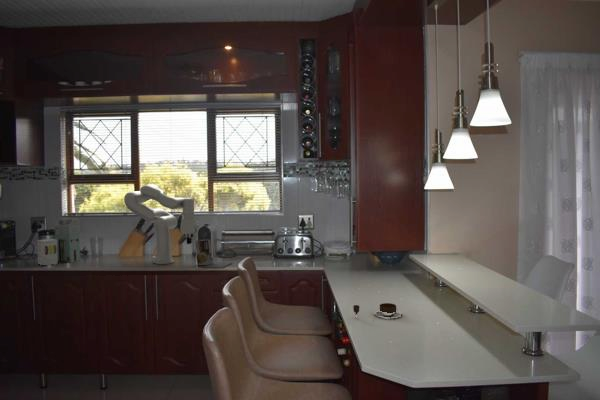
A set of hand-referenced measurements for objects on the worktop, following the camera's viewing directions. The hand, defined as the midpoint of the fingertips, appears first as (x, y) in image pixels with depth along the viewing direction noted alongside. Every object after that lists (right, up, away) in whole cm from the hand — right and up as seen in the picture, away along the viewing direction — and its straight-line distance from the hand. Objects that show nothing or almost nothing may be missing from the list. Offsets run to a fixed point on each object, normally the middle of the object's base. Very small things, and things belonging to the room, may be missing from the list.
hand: (189, 243), depth 319 cm
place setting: (+107, -20, -117) cm, 160 cm away
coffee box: (+11, -14, -2) cm, 18 cm away
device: (-89, -14, +17) cm, 92 cm away
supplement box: (-97, -15, +4) cm, 98 cm away
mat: (+20, -14, -5) cm, 25 cm away
